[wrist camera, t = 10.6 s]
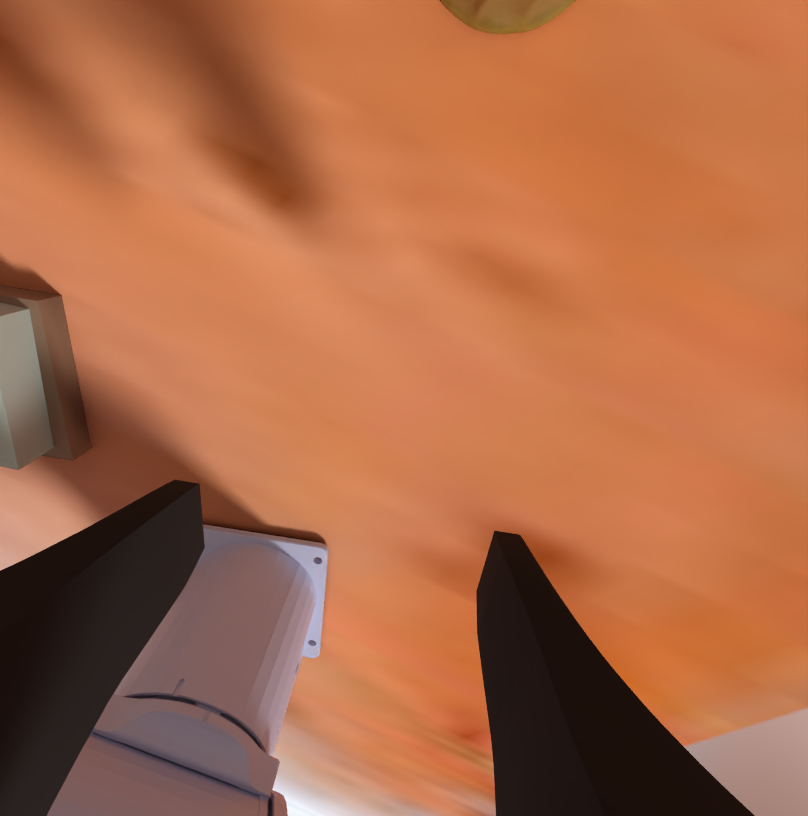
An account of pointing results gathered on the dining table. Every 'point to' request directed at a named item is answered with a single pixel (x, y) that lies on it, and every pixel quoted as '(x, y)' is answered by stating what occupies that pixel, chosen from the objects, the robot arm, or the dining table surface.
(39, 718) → the robot arm
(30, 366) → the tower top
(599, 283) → the dining table surface
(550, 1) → the vase
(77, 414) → the tower base
